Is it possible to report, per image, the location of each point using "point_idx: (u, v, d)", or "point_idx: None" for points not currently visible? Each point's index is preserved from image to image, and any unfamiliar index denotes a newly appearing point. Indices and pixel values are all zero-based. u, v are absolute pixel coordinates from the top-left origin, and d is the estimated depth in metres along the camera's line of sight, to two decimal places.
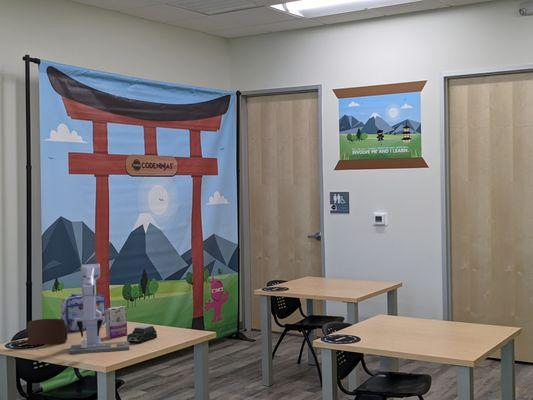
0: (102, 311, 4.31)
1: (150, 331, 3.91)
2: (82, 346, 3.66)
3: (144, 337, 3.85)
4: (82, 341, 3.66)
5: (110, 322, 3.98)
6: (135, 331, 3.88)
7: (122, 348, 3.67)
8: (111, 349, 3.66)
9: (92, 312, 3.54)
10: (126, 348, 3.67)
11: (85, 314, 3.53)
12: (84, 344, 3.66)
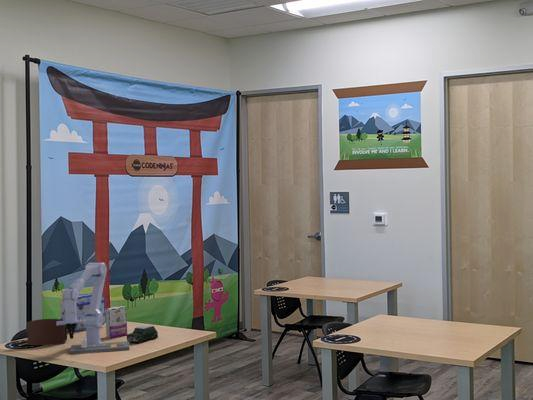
0: (102, 311, 4.31)
1: (150, 331, 3.90)
2: (82, 346, 3.66)
3: (143, 337, 3.85)
4: (82, 341, 3.66)
5: (110, 322, 3.98)
6: (135, 331, 3.88)
7: (122, 348, 3.67)
8: (111, 349, 3.66)
9: (73, 315, 3.65)
10: (126, 348, 3.67)
11: (67, 317, 3.64)
12: (84, 344, 3.66)
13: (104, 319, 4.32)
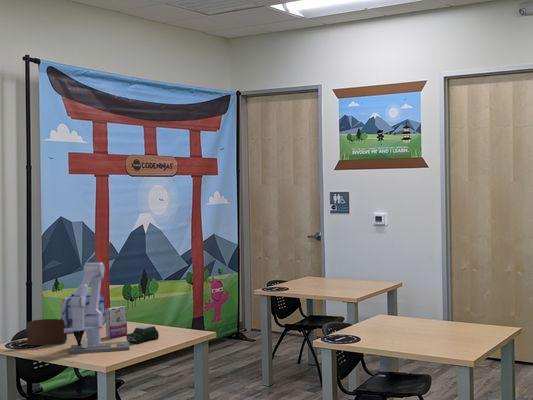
0: (102, 311, 4.31)
1: (150, 332, 3.89)
2: (83, 346, 3.66)
3: (143, 337, 3.84)
4: (83, 341, 3.66)
5: (110, 322, 3.98)
6: (135, 331, 3.88)
7: (122, 348, 3.67)
8: (111, 349, 3.66)
9: (81, 323, 3.65)
10: (126, 348, 3.67)
11: (74, 325, 3.65)
12: (85, 344, 3.66)
13: (104, 319, 4.32)
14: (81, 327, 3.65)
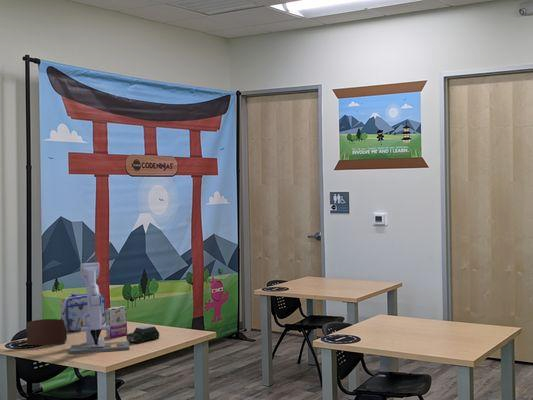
0: (102, 311, 4.31)
1: (151, 332, 3.89)
2: (100, 345, 3.67)
3: (142, 338, 3.84)
4: (100, 340, 3.67)
5: (110, 322, 3.98)
6: (135, 331, 3.88)
7: (122, 348, 3.67)
8: (111, 349, 3.66)
9: (98, 321, 3.67)
10: (126, 348, 3.67)
11: (91, 323, 3.66)
12: (102, 343, 3.68)
13: (104, 319, 4.32)
14: (98, 326, 3.67)
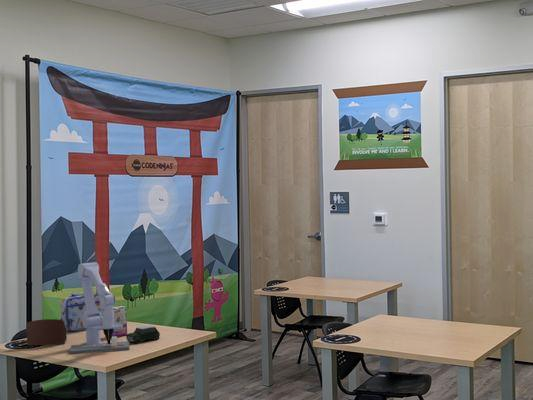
0: None
1: (150, 332, 3.88)
2: (113, 344, 3.69)
3: (141, 338, 3.84)
4: (113, 339, 3.69)
5: None
6: (135, 331, 3.88)
7: (122, 348, 3.67)
8: (111, 349, 3.66)
9: (111, 321, 3.68)
10: (126, 348, 3.67)
11: (104, 323, 3.68)
12: (114, 342, 3.69)
13: None
14: (111, 325, 3.68)
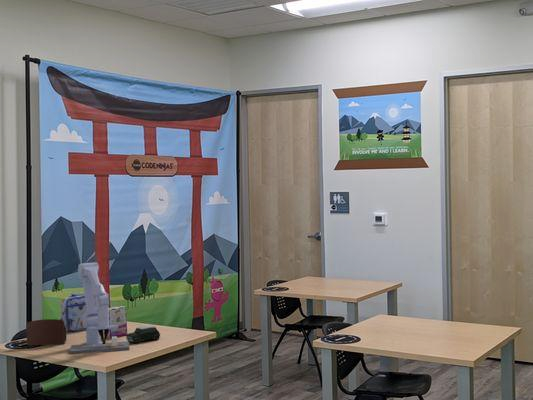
0: None
1: (150, 332, 3.87)
2: (113, 344, 3.69)
3: (141, 338, 3.83)
4: (113, 339, 3.69)
5: (110, 322, 3.98)
6: (135, 331, 3.88)
7: (122, 348, 3.67)
8: (111, 349, 3.66)
9: (106, 321, 3.68)
10: (126, 348, 3.67)
11: (99, 323, 3.67)
12: (115, 342, 3.69)
13: None
14: (106, 325, 3.68)
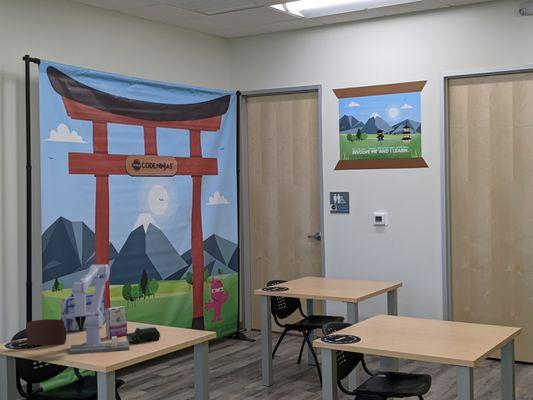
0: (102, 311, 4.31)
1: (150, 332, 3.87)
2: (113, 344, 3.69)
3: (140, 338, 3.83)
4: (113, 339, 3.69)
5: (110, 322, 3.98)
6: (135, 331, 3.88)
7: (122, 348, 3.67)
8: (111, 349, 3.66)
9: (83, 308, 3.68)
10: (126, 348, 3.67)
11: (76, 310, 3.67)
12: (115, 342, 3.69)
13: (104, 319, 4.32)
14: (83, 312, 3.68)
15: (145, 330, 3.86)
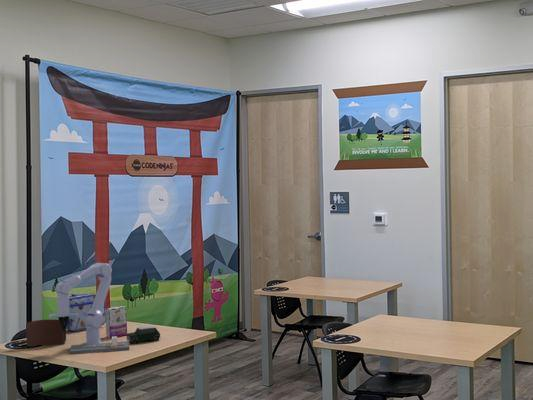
0: (102, 311, 4.31)
1: (150, 333, 3.86)
2: (113, 344, 3.69)
3: (139, 338, 3.83)
4: (113, 339, 3.69)
5: (110, 322, 3.98)
6: (135, 331, 3.88)
7: (122, 348, 3.67)
8: (111, 349, 3.66)
9: (66, 308, 3.69)
10: (126, 348, 3.67)
11: (59, 310, 3.68)
12: (115, 342, 3.69)
13: (104, 319, 4.32)
14: (66, 313, 3.69)
15: (144, 330, 3.85)
